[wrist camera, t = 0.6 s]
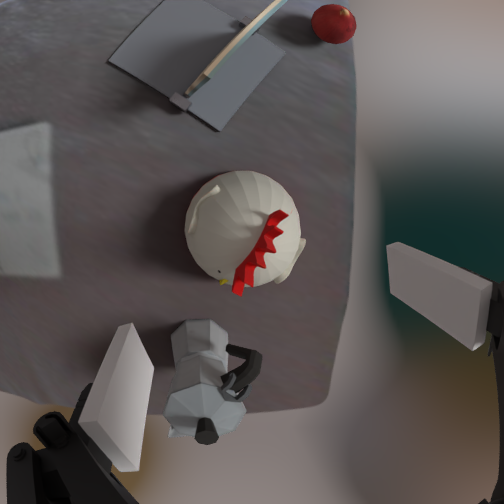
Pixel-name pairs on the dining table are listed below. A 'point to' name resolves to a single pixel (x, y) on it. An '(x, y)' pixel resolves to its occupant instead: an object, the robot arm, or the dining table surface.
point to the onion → (333, 23)
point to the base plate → (196, 57)
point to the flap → (232, 47)
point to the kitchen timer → (243, 230)
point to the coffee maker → (207, 382)
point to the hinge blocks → (183, 102)
